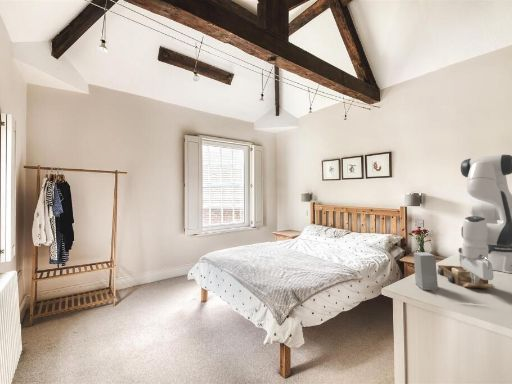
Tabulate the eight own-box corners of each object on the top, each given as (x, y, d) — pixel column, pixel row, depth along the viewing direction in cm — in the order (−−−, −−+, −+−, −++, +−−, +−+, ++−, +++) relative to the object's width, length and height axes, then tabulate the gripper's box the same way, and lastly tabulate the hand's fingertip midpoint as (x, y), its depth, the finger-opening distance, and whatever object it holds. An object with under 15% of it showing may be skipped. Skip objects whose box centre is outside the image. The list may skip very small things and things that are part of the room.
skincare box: (438, 291, 115) (438, 255, 115) (420, 290, 116) (420, 255, 117) (429, 284, 123) (429, 251, 123) (413, 283, 125) (413, 251, 125)
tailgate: (485, 286, 118) (493, 284, 112) (486, 289, 117) (493, 286, 112) (461, 285, 120) (467, 282, 115) (461, 287, 120) (468, 284, 114)
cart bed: (467, 275, 138) (467, 266, 138) (491, 289, 117) (491, 279, 117) (435, 272, 142) (435, 264, 142) (454, 286, 121) (454, 276, 121)
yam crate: (465, 276, 131) (465, 267, 131) (472, 280, 125) (471, 270, 125) (451, 275, 133) (451, 266, 133) (457, 279, 127) (457, 270, 127)
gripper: (498, 259, 106) (498, 292, 106) (471, 248, 125) (471, 276, 125) (479, 258, 107) (480, 291, 107) (456, 247, 127) (456, 275, 127)
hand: (475, 283), depth 117 cm, fingers closed
